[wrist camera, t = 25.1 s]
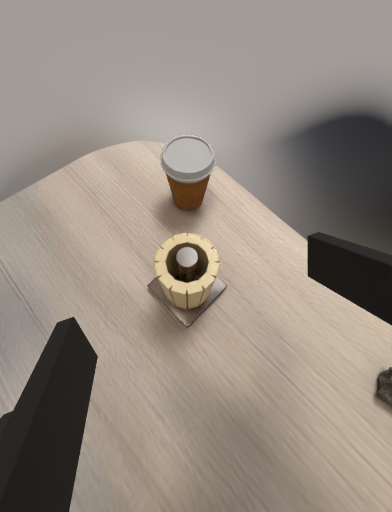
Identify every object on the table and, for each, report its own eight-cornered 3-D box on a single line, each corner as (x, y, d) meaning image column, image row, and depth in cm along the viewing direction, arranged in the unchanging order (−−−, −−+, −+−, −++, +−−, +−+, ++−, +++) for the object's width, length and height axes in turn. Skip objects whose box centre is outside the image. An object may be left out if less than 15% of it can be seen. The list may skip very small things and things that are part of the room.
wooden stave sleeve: (155, 285, 37) (141, 261, 26) (187, 255, 39) (187, 222, 28) (187, 318, 35) (186, 308, 24) (219, 285, 38) (232, 261, 26)
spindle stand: (148, 287, 39) (126, 256, 25) (187, 252, 41) (187, 206, 28) (187, 328, 36) (186, 319, 22) (225, 287, 39) (246, 257, 25)
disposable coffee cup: (204, 221, 44) (209, 180, 33) (160, 211, 45) (151, 168, 34) (214, 186, 48) (221, 139, 37) (173, 177, 48) (168, 128, 37)
